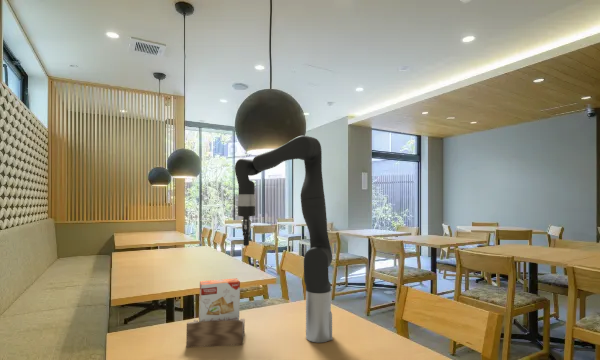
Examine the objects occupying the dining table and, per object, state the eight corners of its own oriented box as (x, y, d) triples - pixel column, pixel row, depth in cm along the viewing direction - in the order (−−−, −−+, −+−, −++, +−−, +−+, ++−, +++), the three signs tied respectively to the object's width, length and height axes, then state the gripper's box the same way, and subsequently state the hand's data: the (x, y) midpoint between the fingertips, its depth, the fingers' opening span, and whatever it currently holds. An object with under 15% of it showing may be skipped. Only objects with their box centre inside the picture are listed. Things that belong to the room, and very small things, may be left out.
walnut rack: (244, 331, 128) (244, 310, 129) (242, 344, 117) (242, 321, 117) (193, 333, 126) (194, 312, 127) (186, 347, 115) (186, 323, 115)
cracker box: (199, 345, 117) (200, 284, 118) (198, 338, 122) (199, 280, 123) (239, 339, 122) (240, 280, 123) (236, 332, 127) (237, 277, 128)
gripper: (254, 205, 139) (254, 247, 138) (255, 204, 152) (255, 243, 151) (236, 205, 138) (235, 247, 137) (239, 204, 151) (238, 243, 150)
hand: (246, 245), depth 144 cm, fingers closed
